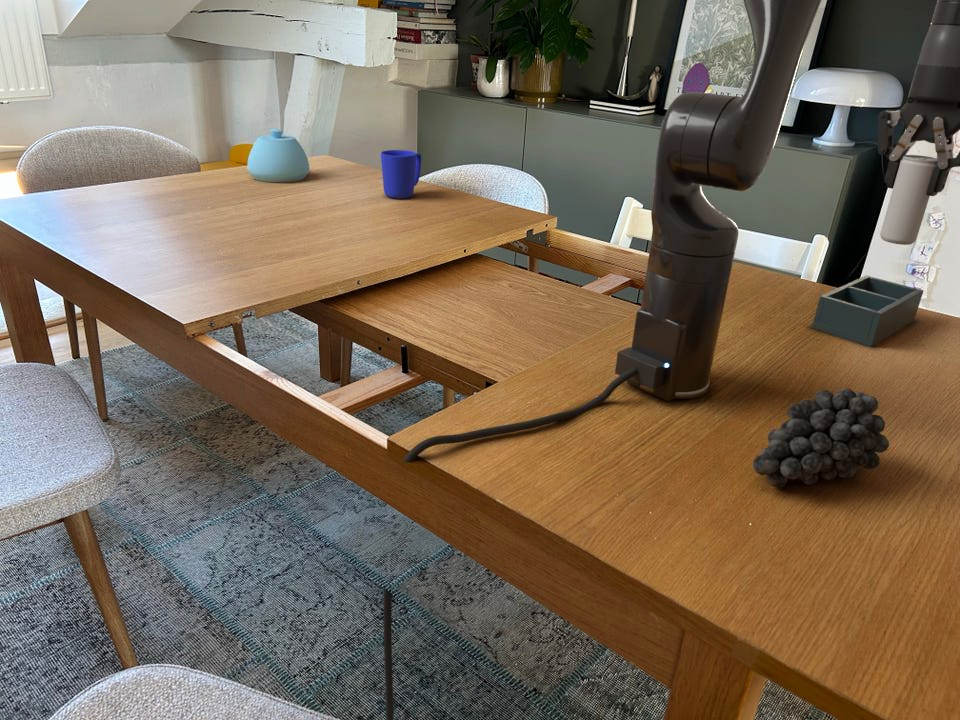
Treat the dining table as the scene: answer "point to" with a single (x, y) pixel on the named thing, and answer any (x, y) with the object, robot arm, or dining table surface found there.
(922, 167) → the beverage can
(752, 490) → the dining table surface
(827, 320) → the divided storage box
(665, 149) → the robot arm
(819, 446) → the fruit
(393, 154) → the mug
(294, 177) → the sugar bowl
